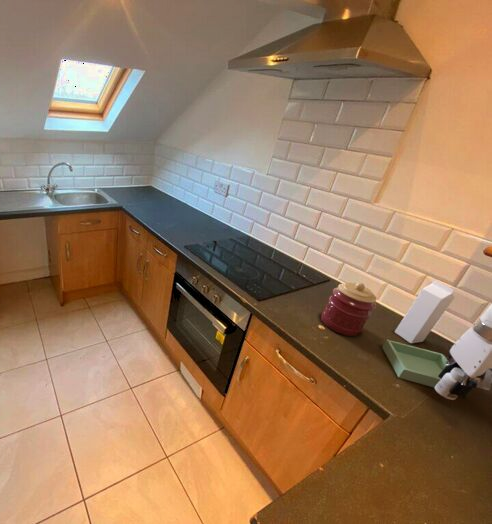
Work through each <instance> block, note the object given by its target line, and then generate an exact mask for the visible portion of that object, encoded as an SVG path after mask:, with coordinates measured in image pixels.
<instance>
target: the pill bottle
mask: <svg viewBox="0 0 492 524" xmlns="http://www.w3.org/2000/svg"><path fill="white" fill-rule="evenodd" d="M464 374H465V372H464V370H463V369H462V368H461V369H460V368H453V369H452V370H451V372H450V373H446V374H445V375H444V376H443V377H442V379H441V380H440V381H439V382H438V383H437V385H436V386H435V388H434V390H435V391H436V393H437V394H438V395H440V396H441V397H444V398H445V399H447V400H452V401H454V400H456V399H457V398H458V397H459V396H457V395H453V394H450V392H449V390H450V389H451V388H452V387H453V386H454V384H455V383H456V382H457V381H459V382H461V380H462V378H463V376H464ZM469 381H471V378H470V379H469Z"/></svg>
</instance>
